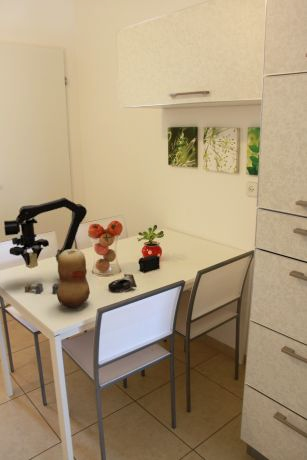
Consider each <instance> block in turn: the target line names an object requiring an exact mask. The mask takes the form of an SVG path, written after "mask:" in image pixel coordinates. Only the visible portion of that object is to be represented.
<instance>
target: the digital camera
mask: <svg viewBox="0 0 307 460" xmlns="http://www.w3.org/2000/svg"><path fill="white" fill-rule="evenodd" d="M138 265H139V272H141V273H143V274H146V273H149V272H154V271H156V270H160V266H161V265H160V256H158V255H155V254H153V255H149V256H145V257H144V256H143V257H140V258H138Z"/></svg>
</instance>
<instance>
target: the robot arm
mask: <svg viewBox="0 0 307 460" xmlns="http://www.w3.org/2000/svg"><path fill="white" fill-rule="evenodd" d="M62 208H65V209H67V210H70V212H71V221H70V224H69V227H68V230H67V233H66V235H65V236H66V237H65V240H64V242H63V245H62V247H61V248H60V249H59V248H57V252H56V255H55V260H56V263H57V264H58V258H59V255H60V254H61V253H62V252H63V251H65V250H68V249H73V245H74V243H75V239H76V237H77V233H78V230H79V228H80V225H81V224H82V222H83V220H84V219H85V217H86V215H87V211H88V210H87V208H86V207H85V206H84V205H82V204H81V203H75V202H74V201H71V200H69V199H68V198H67V197H62V198H59V199H55V200H52V201H47V202H44V203H39V204H34V205H33V204H32V205H31V204H28V205H23V206H21V207H20V208H19V210H18V211H19V212H18V215H17V217H16V218H15V219H14V220H4V221H3V223H4V227H3V228H4V234H5V236H12V235H13V236H14V235H18V234H19V233H20V232H21V234H20V237H12V239H11V242H12V245H14V246H13V247H10V249H9V251H8V252H9V254H10V255H13V256H15V257H16V256H18V257H19V256H21V257H22V258H23V260H24V263H25V262H26V263H25V265H26V264H27V265H29V252H28V250H31V252H34V253H37V260H38V259H39V256H40V255H41V252H42V250H43V249H44V248H46V247H48V246H50V245H49V244H50V243H49V240H47V239H44V238H40V239H37V240H36V237H37V234H36V232H35V226H34V225H35V224H38V223H39V222H38V220H37V219H35V218H36V217H37V216H39V215H41V214H43V213H48V212H51V211H55V210H57V209H62ZM15 245H16V246H15Z"/></svg>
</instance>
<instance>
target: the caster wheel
mask: <svg viewBox="0 0 307 460" xmlns="http://www.w3.org/2000/svg"><path fill="white" fill-rule="evenodd" d="M123 275H124V276H123V277H122V278H120V279H115V280H112V281H111V282H110V283H109V284H108V290H109V291H110V292H118V291H119V292H121V293H126V292H127V291H130V290H131V289H132V288H137V287H138V286H137V284H136V280H135V277H134V274H130V273H129V274H127V273H124V274H123Z"/></svg>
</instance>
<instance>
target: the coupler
mask: <svg viewBox="0 0 307 460" xmlns="http://www.w3.org/2000/svg"><path fill="white" fill-rule="evenodd" d="M28 253H29V265H27V264H26V262H25V261H24V263H25V268H29V269H33V268H36V267H38V265H39V264H38V263H39V262H38V259H37V253H34V252H33V251H29V252H28Z"/></svg>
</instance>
